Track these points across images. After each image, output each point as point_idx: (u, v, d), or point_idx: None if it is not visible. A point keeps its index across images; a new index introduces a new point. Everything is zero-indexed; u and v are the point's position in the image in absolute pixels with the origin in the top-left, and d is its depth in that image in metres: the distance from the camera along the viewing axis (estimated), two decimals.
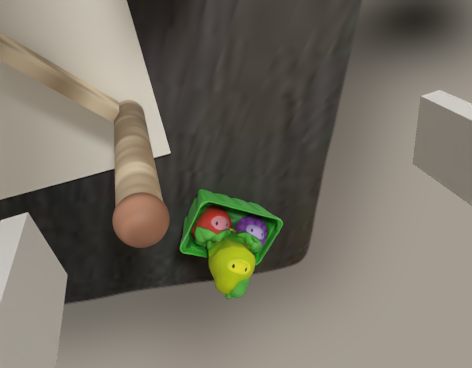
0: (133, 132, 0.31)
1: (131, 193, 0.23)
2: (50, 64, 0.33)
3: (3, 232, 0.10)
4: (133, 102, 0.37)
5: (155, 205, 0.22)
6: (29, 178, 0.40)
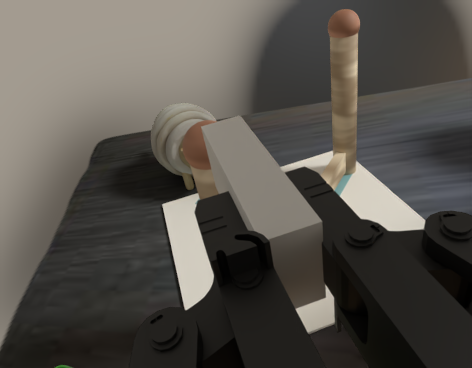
0: None
1: None
2: None
3: (210, 132, 0.13)
4: None
5: None
6: (185, 253, 0.44)
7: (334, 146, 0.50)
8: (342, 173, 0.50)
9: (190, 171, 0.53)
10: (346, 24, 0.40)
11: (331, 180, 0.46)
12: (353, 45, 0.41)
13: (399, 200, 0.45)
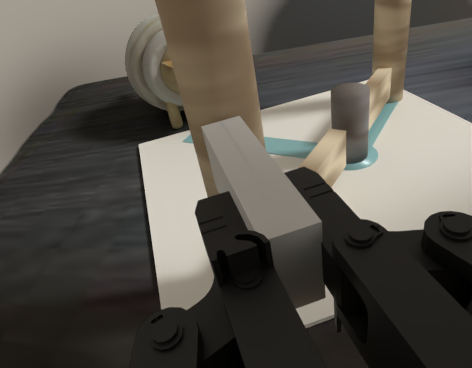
0: None
1: None
2: None
3: (210, 132, 0.13)
4: None
5: None
6: (164, 198, 0.31)
7: (375, 60, 0.36)
8: (386, 97, 0.36)
9: (177, 100, 0.40)
10: None
11: (375, 98, 0.32)
12: None
13: None
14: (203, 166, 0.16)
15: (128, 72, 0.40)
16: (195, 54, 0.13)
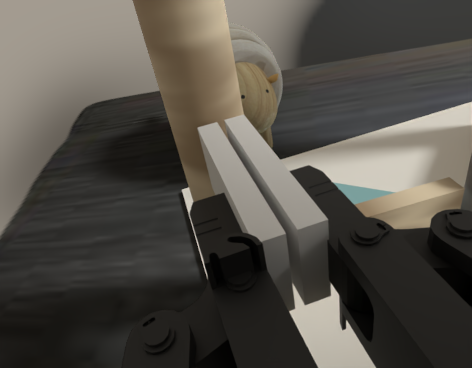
0: None
1: None
2: None
3: (206, 133, 0.13)
4: None
5: None
6: None
7: None
8: None
9: None
10: None
11: None
12: None
13: None
14: None
15: None
16: (152, 59, 0.13)
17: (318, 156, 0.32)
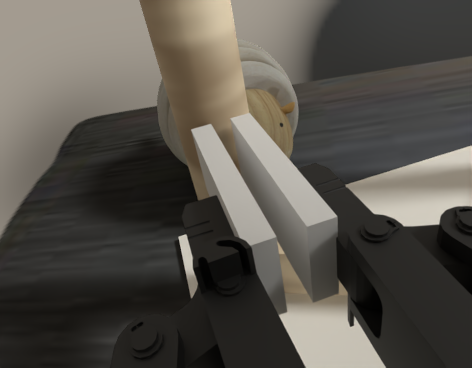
0: None
1: None
2: None
3: (200, 135, 0.13)
4: None
5: None
6: None
7: None
8: None
9: None
10: None
11: None
12: None
13: None
14: None
15: (163, 127, 0.27)
16: (155, 53, 0.14)
17: None
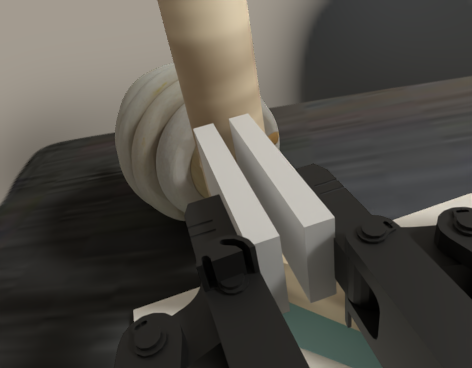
0: None
1: None
2: None
3: (202, 134, 0.13)
4: None
5: None
6: None
7: None
8: None
9: None
10: None
11: None
12: None
13: None
14: None
15: (125, 168, 0.23)
16: None
17: None
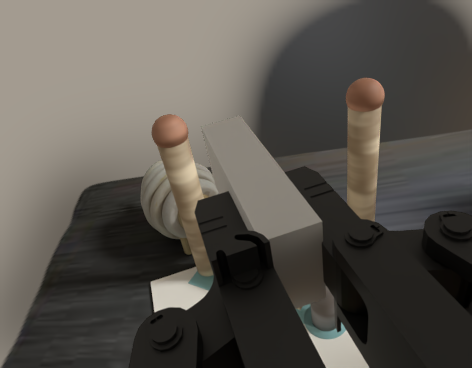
0: (191, 223, 0.40)
1: (175, 146, 0.35)
2: None
3: (210, 132, 0.13)
4: (203, 273, 0.45)
5: (157, 135, 0.34)
6: None
7: None
8: None
9: None
10: (369, 98, 0.33)
11: None
12: (376, 119, 0.35)
13: None
14: None
15: (146, 214, 0.48)
16: None
17: None
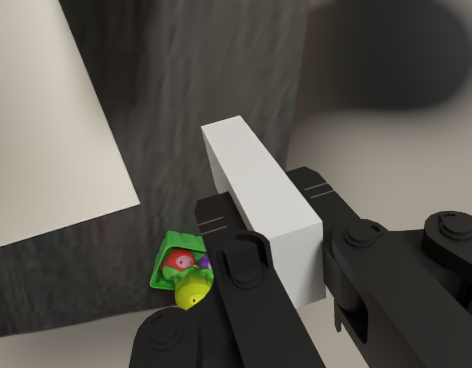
0: None
1: None
2: None
3: (210, 132, 0.13)
4: None
5: None
6: (18, 230, 0.47)
7: None
8: None
9: None
10: None
11: None
12: None
13: None
14: None
15: None
16: None
17: None
